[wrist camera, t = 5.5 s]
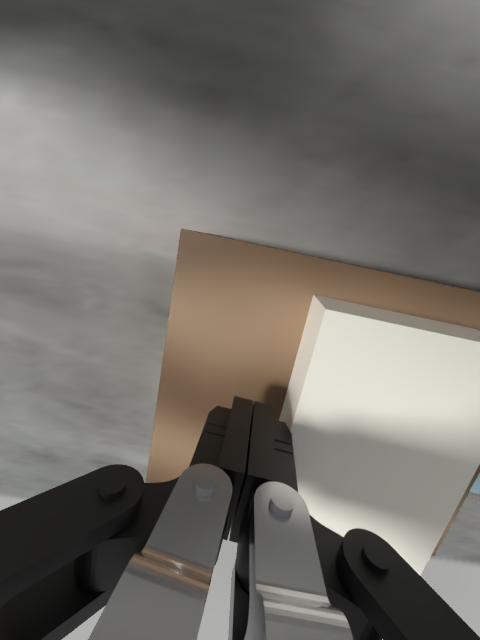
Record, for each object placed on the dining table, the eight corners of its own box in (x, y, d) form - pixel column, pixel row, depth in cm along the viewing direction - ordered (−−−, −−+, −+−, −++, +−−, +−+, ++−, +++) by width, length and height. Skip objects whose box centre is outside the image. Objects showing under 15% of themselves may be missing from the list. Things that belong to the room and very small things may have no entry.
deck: (204, 233, 14) (181, 228, 10) (484, 292, 14) (567, 311, 10) (173, 429, 18) (145, 481, 14) (396, 485, 17) (434, 555, 13)
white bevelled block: (313, 294, 11) (325, 309, 8) (476, 329, 10) (538, 354, 8) (262, 482, 13) (260, 535, 11) (391, 514, 13) (419, 576, 10)
